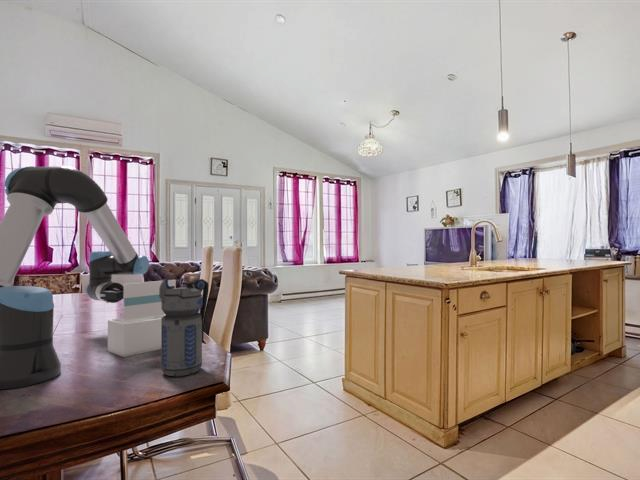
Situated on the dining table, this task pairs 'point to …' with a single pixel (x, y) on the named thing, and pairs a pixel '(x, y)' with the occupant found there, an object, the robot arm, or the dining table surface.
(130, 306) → the lid
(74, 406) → the dining table surface
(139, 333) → the box
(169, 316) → the beverage bottle
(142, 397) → the dining table surface
